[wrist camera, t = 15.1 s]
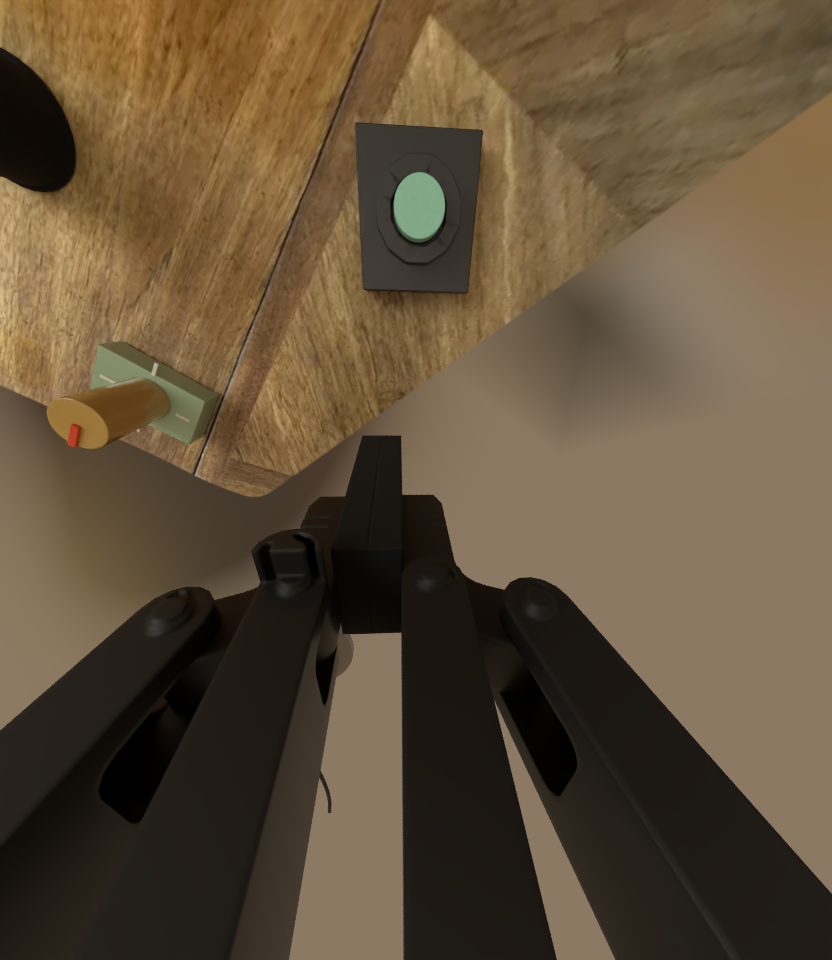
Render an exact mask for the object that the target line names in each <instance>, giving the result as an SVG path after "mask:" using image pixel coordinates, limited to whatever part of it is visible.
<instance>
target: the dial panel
mask: <svg viewBox="0 0 832 960" xmlns="http://www.w3.org/2000/svg"><path fill="white" fill-rule="evenodd" d="M131 378H144V379H147V380H150V381H152V382H154V383H155V384H157V385H158V386H159V387H160V388H161V389H162V390H163V391H164V392H165V394H166V396H167V398H168V400H169V405H170V407H169V411H168V413H167V415H166V416H165V417H163V418H161V419H159V420H157V421H155V422H153V423H151V424H149V426H151V427H153V428H155V429H157V430H160V431H162V432H164V433H166V434H168V435H170V436H172V437H174V438H176V439H178V440H180V441H182V442H184V443H186V444H188V445H190V444H191V443H193V442H194V441H196V440H197V439H199V438H200V437H202V436H203V435H204V433H205V430H206V427H207V425H208V422H209V420H210V417H211V415H212V412H213V409H214V407H215V404H216V402H217V399H218V396H219V394H217V393H215V392H213V391H212V390H210V389H208V388H206V387H204V386H202V385H201V384H199V383H197V382H195V381H193V380H192V379H190V378H188V377H186V376H184V375H183V374H181V373H179V372H177V371H175V370H173V369H172V368H170V367H168V366H166V365H164V364H163V363H161V362H159V361H157V360H155V359H154V358H152V357H150V356H148V355H146V354H144V353H143V352H141V351H139V350H137V349H135V348H134V347H132V346H130V345H128V344H126V343H125V342H123V341H121V342H113V343H106V344H99V345H98V349H97V355H96V360H95V365H94V370H93V375H92V380H91V386H90V390H91V389H95V388H98V387H102V386H106V385H109V384H113V383H117V382H120V381H124V380H127V379H131ZM140 430H141V428H140V429H138V430H136V431H137V432H140Z"/></svg>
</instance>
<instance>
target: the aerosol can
mask: <svg viewBox="0 0 832 960" xmlns="http://www.w3.org/2000/svg"><path fill="white" fill-rule="evenodd" d="M74 165H75V149H74V143H73V138H72V135H71V131H70V128H69V125H68V123H67V120H66V118H65V116H64V114H63V112H62V110H61V108H60V106H59V105H58V103H57V101H56V100H55V98H54V96H53V95H52V93H51V92H50V91H49V90H48V88H47V87H46V86H45V84H44V83H43V82H42V81H41V79H40V78H39V77H38V76H37V75H36V74H35V73H34V72H33V71H32V70H31V69H30V68H29V67H28V66H27V65H25V64H24V63H23V62H22V61H21V60H19V59H18V58H17V57H16V56H14V55H12V54H11V53H9V52H8V51H6V50H4V49H3V48H0V176H1V177H4V178H7V179H9V180H10V181H12V182H14V183H16V184H18V185H20V186H22V187H24V188H27V189H30V190H33V191H40V192H48V191H55V190H57V189H59V188H61V187H63V186H64V185H65V184H66V183H67V182H68V181H69V179H70V177H71V175H72V173H73V169H74Z"/></svg>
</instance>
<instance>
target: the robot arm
mask: <svg viewBox="0 0 832 960" xmlns="http://www.w3.org/2000/svg"><path fill="white" fill-rule="evenodd" d="M401 466H402V464H401V436H362V440H361V443H360V446H359V450H358V453H357V457H356V461H355V464H354V468H353V471H352V475H351V478H350V482H349V485H348V489H347V492H346V496H345V497H320V498H318V499H317V500H316V501H315V502H314V503H313V504H311V505H310V506H309V508H308V511H307V513H306V515H305V519H304V520H303V522H302V524H301V527H300V529H293V530H285V531H281V532H278V533H275V534H272V535H270V536H268V537H267V538H265V539H264V540H262V541H260V542H259V543H258V544H257V545H256V546H255V547H254V548H253V550H252V551H251V552H252V556H253V559H254V562H255V565H256V569H257V572H258V575H259V578H260V582H261V583H260V585H259V586H258V587H257V588H255V589H253V590H250V591H246V592H244V593H240V594H236V595H233V596H229V597H225V598H221V599H217V600H214V599H213V597H212V595H211V593H210V591H208V590H206V589H204V588H201V587H184V588H180V589H176V590H172V591H170V592H167V593H165V594H163V595H161V596H159V597H157V598H155V599H153V600H152V601H151V602H149V603H148V604H146V605H145V606H144V607H142V608H141V609H140V610H139V611H137V612H136V613H135V614H134V615H133V616H131V617H130V618H129V619H128V620H127V621H126V622H125V623H123V624H122V625H121V626H120V627H119V628H118V629H116V630H115V631H114V632H113V633H112V634H111V635H110V636H108V637H107V638H106V639H105V640H104V641H103V642H102V643H100V644H99V645H98V646H97V647H96V648H95V649H93V650H92V651H91V652H90V653H89V654H88V655H87V656H86V657H84V658H83V659H82V660H81V661H80V662H79V663H77V664H76V665H75V666H74V667H73V668H72V669H71V670H69V671H68V672H67V673H66V674H65V675H64V676H62V677H61V678H60V679H59V680H58V681H57V682H55V684H54V685H52V686H51V687H50V688H49V689H47V691H45V692H44V693H43V694H42V695H41V696H39V697H38V698H37V699H36V700H35V701H34V702H32V703H31V704H30V705H29V706H28V707H27V708H26V709H24V710H23V711H22V712H21V713H20V714H19V715H18V716H16V717H15V718H14V719H13V720H12V721H11V722H9V723H8V724H7V725H6V726H5V727H4V728H3V729H2V730H0V960H289V955H290V949H291V943H292V937H293V931H294V925H295V919H296V913H297V907H298V901H299V895H300V889H301V883H302V877H303V871H304V865H305V859H306V853H307V847H308V841H309V835H310V829H311V824H312V818H313V812H314V806H315V800H316V793H317V788H318V782H319V778H320V780H321V782H322V784H323V786H324V788H325V791H326V794H327V798H328V813H331V797H330V793H329V789H328V786H327V784H326V782H325V779H324V777H323V775H322V773H321V771H320V770H321V764H322V757H323V752H324V746H325V740H326V734H327V727H328V721H329V715H330V709H331V704H332V698H333V692H334V685H335V680H336V674H337V668H338V662H339V646H338V636H339V630H340V625H341V627H342V634H370V633H400V632H401V635H402V797H403V798H402V799H403V800H402V803H403V954H404V955H403V956H404V957H403V959H404V960H557V959H556V955H555V950H554V946H553V942H552V938H551V934H550V930H549V926H548V921H547V918H546V914H545V909H544V905H543V901H542V897H541V892H540V888H539V885H538V880H537V876H536V872H535V868H534V864H533V859H532V855H531V851H530V847H529V843H528V839H527V835H526V830H525V826H524V822H523V818H522V814H521V810H520V806H519V801H518V798H517V793H516V790H515V785H514V781H513V777H512V773H511V769H510V764H509V760H508V756H507V752H506V748H505V744H504V740H503V735H502V732H501V728H500V723H499V719H498V715H497V711H496V707H495V702H496V704H497V707H498V708H499V711H500V713H501V715H502V717H503V719H504V722H505V724H506V726H507V728H508V730H509V732H510V734H511V737H512V738H513V741H514V743H515V745H516V747H517V749H518V752H519V754H520V756H521V758H522V760H523V762H524V764H525V767H526V769H527V771H528V773H529V775H530V777H531V779H532V781H533V784H534V786H535V788H536V790H537V792H538V794H539V796H540V799H541V801H542V803H543V805H544V807H545V809H546V812H547V814H548V816H549V818H550V820H551V822H552V824H553V827H554V829H555V831H556V833H557V835H558V837H559V839H560V842H561V843H562V846H563V848H564V850H565V852H566V854H567V857H568V858H569V861H570V863H571V865H572V867H573V870H574V872H575V874H576V876H577V878H578V880H579V882H580V884H581V887H582V889H583V891H584V893H585V895H586V897H587V900H588V902H589V904H590V906H591V908H592V910H593V912H594V915H595V917H596V919H597V921H598V923H599V925H600V927H601V930H602V932H603V934H604V936H605V938H606V940H607V942H608V945H609V947H610V949H611V951H612V953H613V955H614V957H615V960H832V894H831V893H830V891H829V890H828V889H827V888H826V887H825V886H824V885H823V883H821V881H820V880H819V879H818V878H817V877H816V876H815V875H814V873H813V872H812V871H811V870H810V869H809V868H808V867H807V866H806V864H805V863H804V862H803V861H802V860H801V859H800V858H799V856H798V855H797V854H796V853H795V852H794V851H793V850H792V849H791V847H790V846H789V845H788V844H787V843H786V842H785V841H784V840H783V838H782V837H781V836H780V835H779V834H778V833H777V832H776V831H775V829H774V828H773V827H772V826H771V825H770V824H769V823H768V821H767V820H766V819H765V818H764V817H763V816H762V815H761V814H760V812H759V811H758V810H757V809H756V808H755V807H754V806H753V805H752V803H751V802H750V801H749V800H748V799H747V798H746V797H745V796H744V794H743V793H742V792H741V791H740V790H739V789H738V788H737V787H736V786H735V784H734V783H733V782H732V781H731V780H730V779H729V777H728V776H727V775H726V774H725V773H724V772H723V771H722V770H721V768H720V767H719V766H718V765H717V764H716V763H715V762H714V761H713V760H712V758H711V757H710V756H709V755H708V754H707V753H706V752H705V750H704V749H703V748H702V747H701V746H700V745H699V744H698V743H697V741H696V740H695V739H694V738H693V737H692V736H691V735H690V734H689V733H688V731H687V730H686V729H685V728H684V727H683V726H682V724H681V723H680V722H679V721H678V720H677V719H676V718H675V717H674V716H673V714H672V713H671V712H670V711H669V710H668V709H667V708H666V707H665V705H664V704H663V703H662V702H661V701H660V700H659V699H658V698H657V696H656V695H655V694H654V693H653V692H652V691H651V690H650V688H649V687H648V686H647V685H646V684H645V683H644V682H643V680H642V679H641V678H640V677H639V676H638V675H637V674H636V673H635V672H634V670H633V669H632V668H631V667H630V666H629V665H628V664H627V663H626V661H625V660H624V659H623V658H622V657H621V656H620V655H619V654H618V653H617V651H616V650H615V649H614V648H613V647H612V646H611V644H610V643H609V642H608V641H607V640H606V639H605V638H604V636H603V635H602V634H601V633H600V632H599V631H598V630H597V629H596V628H595V626H594V625H593V624H592V623H591V622H590V621H589V620H588V618H587V617H586V616H585V615H584V614H583V613H582V612H581V611H580V610H579V608H578V607H577V606H576V605H575V604H574V603H573V602H572V601H571V599H570V598H569V597H568V596H567V595H566V594H564V592H562V591H561V590H560V589H559V588H558V587H556V586H554V585H552V584H550V583H548V582H547V581H544V580H541V579H536V578H532V577H530V578H518V579H516V580H514V581H512V582H510V583H509V585H508V586H507V587H506V589H505V590H503V589H499V588H495V587H490V586H486V585H482V584H480V583H477V582H475V581H473V580H471V579H469V578H468V577H466V576H465V575H464V574H463V573H462V572H461V570H460V568H459V567H458V566H456V563H455V561H454V557H453V552H452V548H451V543H450V539H449V535H448V530H447V526H446V521H445V517H444V512H443V508H442V504H441V502H440V501H439V500H438V499H437V498H436V497H435V496H434V495H402V470H401V469H402V467H401ZM494 700H495V702H494Z"/></svg>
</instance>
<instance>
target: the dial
mask: <svg viewBox="0 0 832 960" xmlns="http://www.w3.org/2000/svg"><path fill="white" fill-rule="evenodd" d="M169 407H170V405H169V400H168V398H167V396H166V394H165V392H164V391H163V390H162V389H161V388H160V387H159V386H158V385H157V384H155V383H154V382H152V381H150V380H147V379H144V378H131V379H127V380H124V381H120V382H117V383H113V384H109V385H106V386H102V387H98V388H95V389H91V390H87V391H84V392H80V393H77V394H73V395H69V396H66V397H62V398H58V399H55V400H53V401H52V402H51V403H50V404H49V406H48V408H47V417H48V420H49V423H50V424H51V426H52V427H53V429H54V430H55V431H56V432H57V433H58V434H59V435H60V436H61V437H62V438H64V439H65V440H66V441H68V443H67V444H68V445H70V446H72V447H74V448H75V447H77V446H79V447H82V448H88V449H96V448H100V447H102V446H104V445H107V444H109V443H111V442H113V441H115V440H117V439H119V438H121V437H123V436H125V435H128V434H130V433H132V432H134V431H136V430H138V429H140V428H142V427H144V426H146V425H149V424H151V423H153V422H155V421H157V420H159V419H161V418H163V417H165V416H166V415H167V413H168V411H169Z"/></svg>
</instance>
